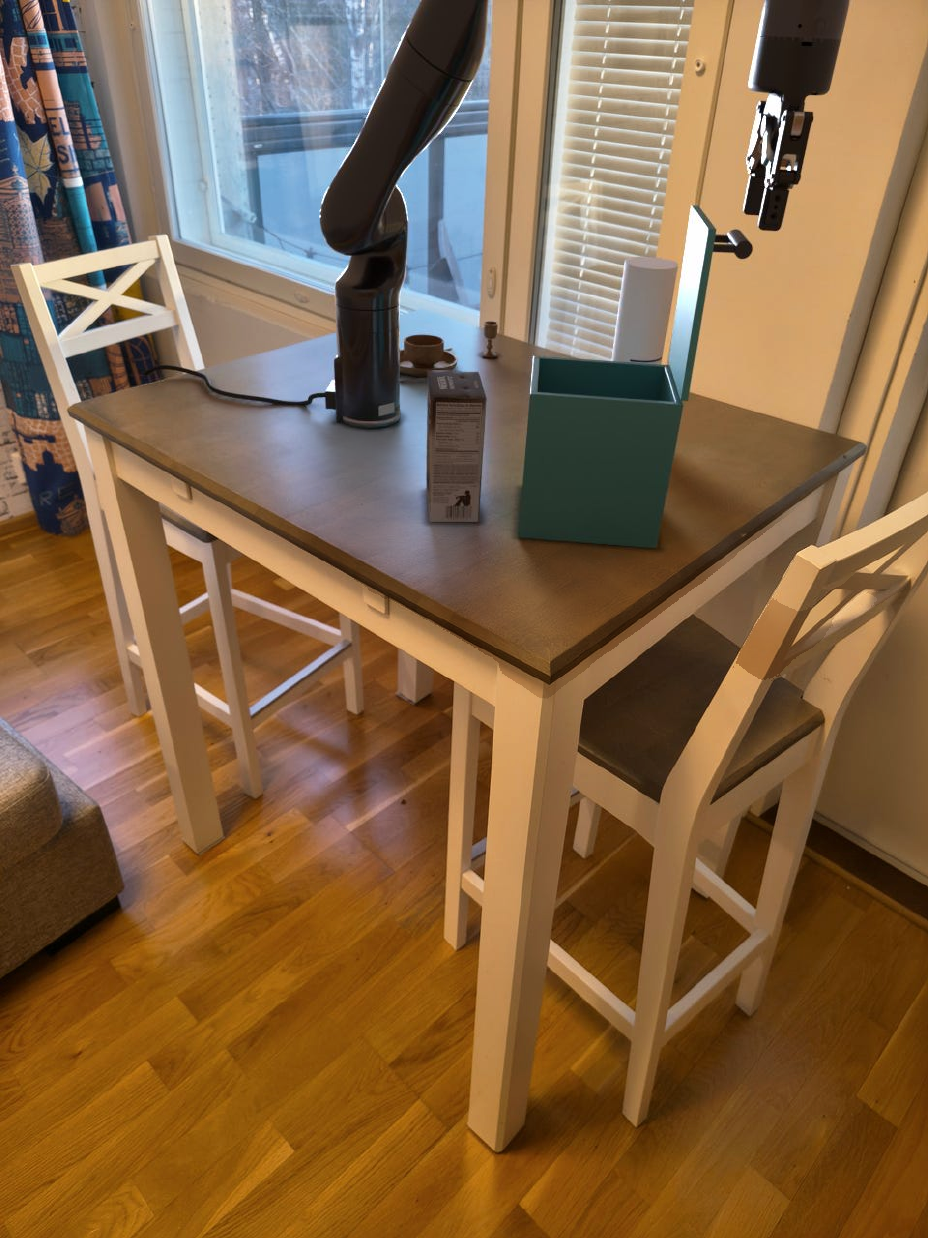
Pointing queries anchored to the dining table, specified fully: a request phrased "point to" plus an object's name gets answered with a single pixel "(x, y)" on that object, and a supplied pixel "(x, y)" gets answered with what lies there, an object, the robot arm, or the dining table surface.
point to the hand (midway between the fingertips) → (760, 222)
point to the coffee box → (454, 445)
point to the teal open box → (598, 451)
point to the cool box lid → (697, 291)
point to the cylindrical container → (644, 309)
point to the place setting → (435, 353)
